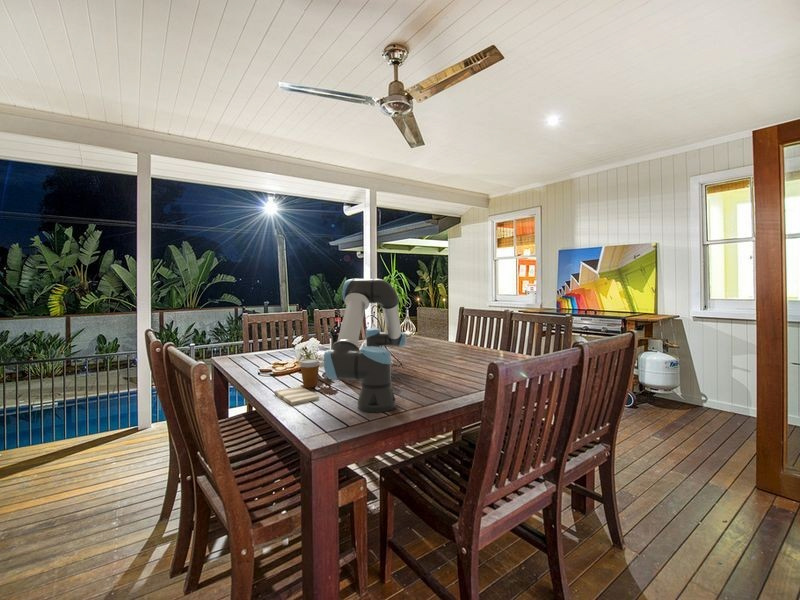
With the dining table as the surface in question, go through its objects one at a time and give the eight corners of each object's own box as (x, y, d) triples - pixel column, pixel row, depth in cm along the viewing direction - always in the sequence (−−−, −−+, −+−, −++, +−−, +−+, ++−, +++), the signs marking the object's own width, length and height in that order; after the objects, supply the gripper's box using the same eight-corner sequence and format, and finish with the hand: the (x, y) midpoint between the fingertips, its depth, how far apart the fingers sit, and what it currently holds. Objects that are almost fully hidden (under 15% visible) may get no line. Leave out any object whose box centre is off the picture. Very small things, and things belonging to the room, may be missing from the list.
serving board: (319, 399, 160) (318, 395, 160) (291, 405, 153) (291, 401, 153) (300, 389, 175) (300, 386, 175) (274, 394, 168) (274, 391, 168)
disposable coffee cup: (313, 389, 175) (313, 363, 174) (295, 387, 178) (295, 362, 177) (324, 383, 184) (323, 359, 183) (307, 382, 187) (306, 358, 186)
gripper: (376, 370, 196) (344, 378, 180) (345, 363, 213) (313, 370, 197) (376, 355, 196) (344, 363, 180) (345, 349, 212) (313, 356, 197)
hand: (328, 366), depth 188 cm, fingers open, 13 cm apart
